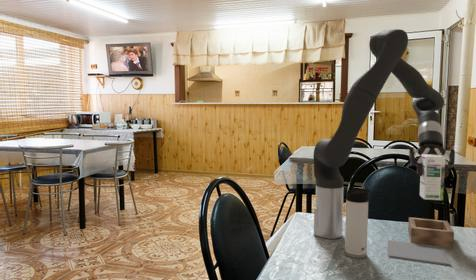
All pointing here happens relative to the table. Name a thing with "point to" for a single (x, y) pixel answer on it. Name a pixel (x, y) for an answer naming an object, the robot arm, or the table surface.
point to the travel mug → (356, 223)
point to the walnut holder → (430, 232)
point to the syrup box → (432, 177)
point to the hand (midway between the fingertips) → (432, 175)
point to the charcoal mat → (417, 252)
